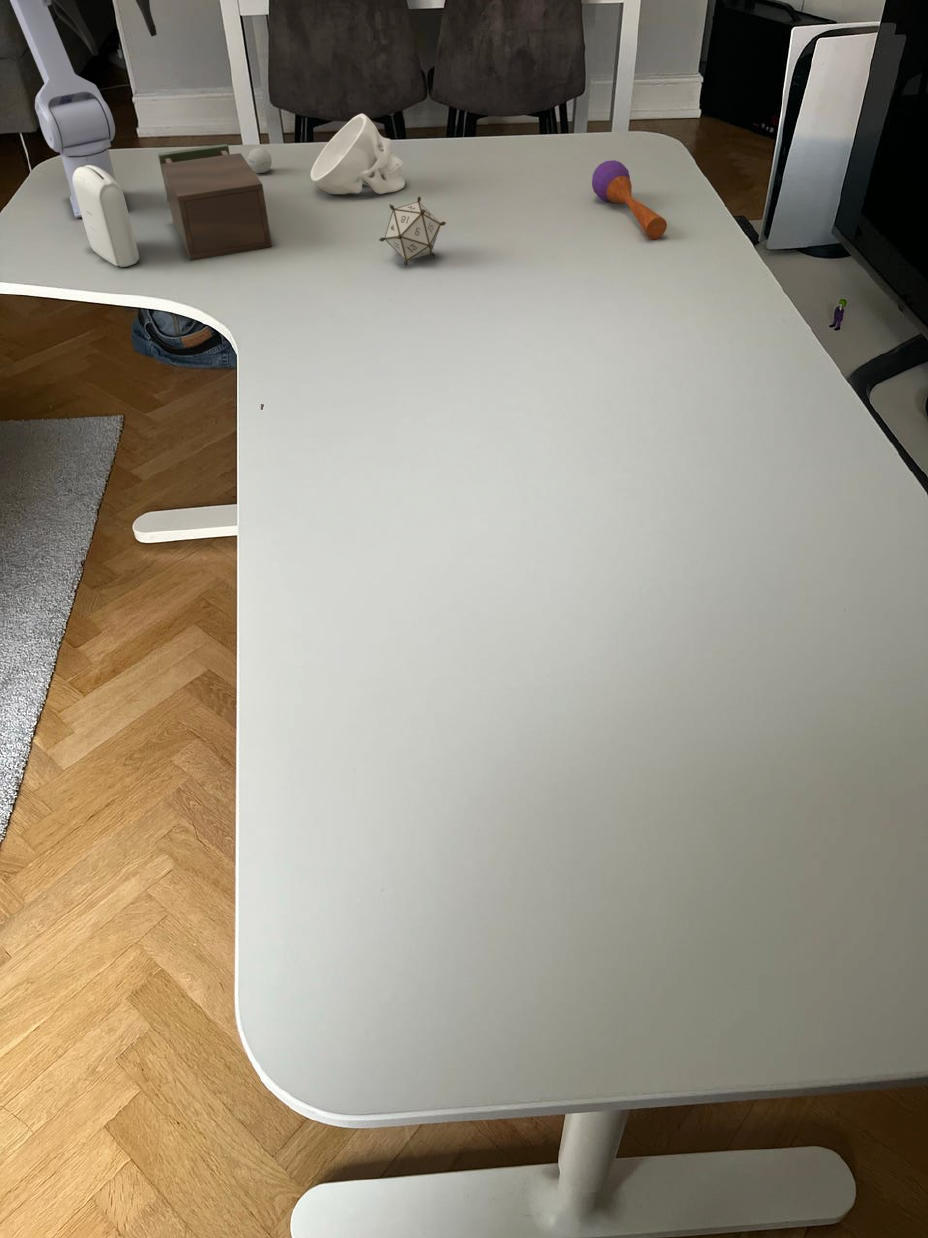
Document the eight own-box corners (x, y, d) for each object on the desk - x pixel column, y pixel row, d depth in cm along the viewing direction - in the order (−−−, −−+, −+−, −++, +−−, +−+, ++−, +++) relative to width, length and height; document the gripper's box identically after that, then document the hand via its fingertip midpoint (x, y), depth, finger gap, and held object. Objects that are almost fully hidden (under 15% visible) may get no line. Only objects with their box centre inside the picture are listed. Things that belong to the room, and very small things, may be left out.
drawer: (163, 191, 163) (153, 144, 158) (229, 181, 166) (221, 135, 161) (182, 230, 151) (171, 180, 146) (253, 219, 153) (245, 170, 148)
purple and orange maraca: (636, 215, 144) (584, 160, 157) (638, 252, 148) (587, 196, 161) (674, 202, 144) (619, 149, 157) (675, 240, 149) (621, 185, 162)
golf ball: (246, 175, 170) (242, 151, 168) (254, 167, 173) (250, 143, 170) (269, 176, 170) (265, 152, 167) (276, 168, 173) (272, 144, 170)
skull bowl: (421, 185, 161) (376, 120, 153) (353, 238, 165) (305, 178, 157) (409, 163, 169) (366, 100, 161) (344, 215, 172) (299, 156, 164)
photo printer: (87, 249, 148) (63, 162, 140) (114, 241, 150) (91, 155, 142) (116, 270, 142) (93, 181, 134) (144, 262, 144) (123, 174, 136)
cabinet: (173, 224, 155) (160, 163, 148) (250, 212, 158) (240, 152, 152) (190, 260, 145) (177, 196, 138) (271, 246, 148) (262, 183, 142)
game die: (403, 286, 145) (357, 235, 140) (424, 245, 149) (379, 193, 143) (445, 269, 139) (399, 215, 133) (466, 227, 142) (422, 172, 137)
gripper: (10, -70, 117) (62, 41, 119) (127, -106, 120) (176, 3, 121) (24, -33, 124) (73, 72, 126) (134, -68, 127) (180, 35, 128)
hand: (124, 40), depth 124 cm, fingers open, 7 cm apart
